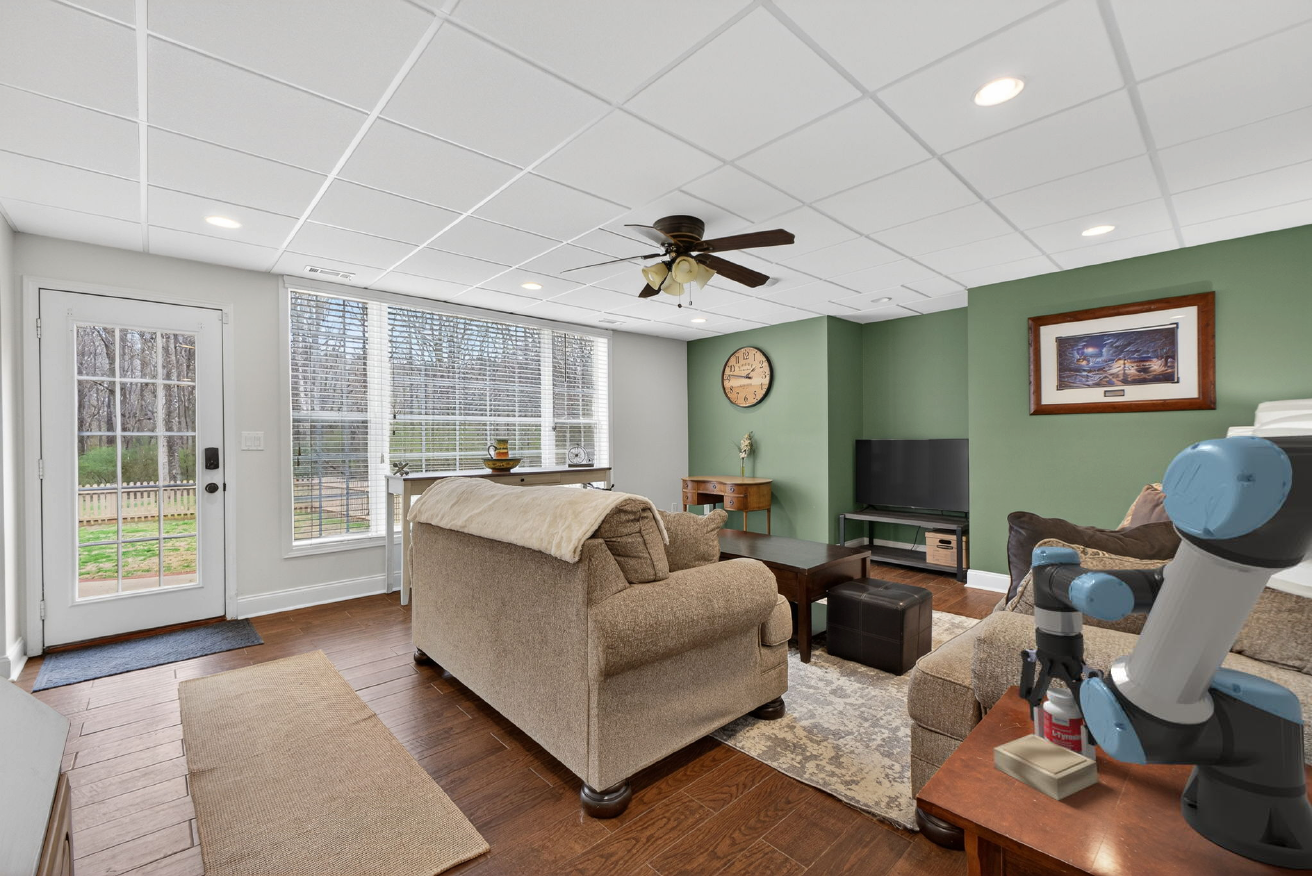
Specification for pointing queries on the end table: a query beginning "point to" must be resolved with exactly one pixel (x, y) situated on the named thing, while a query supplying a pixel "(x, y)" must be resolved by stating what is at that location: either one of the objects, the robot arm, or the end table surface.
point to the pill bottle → (1062, 720)
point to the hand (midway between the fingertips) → (1064, 749)
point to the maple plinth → (1045, 766)
